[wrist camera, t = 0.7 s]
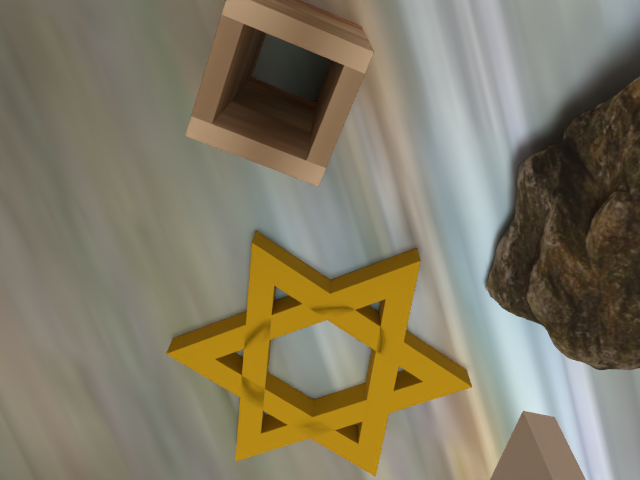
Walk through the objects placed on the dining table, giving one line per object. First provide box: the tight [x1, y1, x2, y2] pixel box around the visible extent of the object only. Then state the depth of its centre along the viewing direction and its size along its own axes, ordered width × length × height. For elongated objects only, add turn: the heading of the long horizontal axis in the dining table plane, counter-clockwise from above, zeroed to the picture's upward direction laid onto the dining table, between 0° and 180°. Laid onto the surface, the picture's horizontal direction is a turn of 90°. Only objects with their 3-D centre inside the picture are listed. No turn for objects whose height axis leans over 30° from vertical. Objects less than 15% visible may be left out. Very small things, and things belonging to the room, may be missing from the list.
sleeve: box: [185, 0, 374, 186], centre depth 26 cm, size 5×5×11 cm
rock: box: [485, 76, 640, 370], centre depth 31 cm, size 18×10×15 cm
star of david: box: [166, 231, 472, 476], centre depth 39 cm, size 20×17×2 cm
